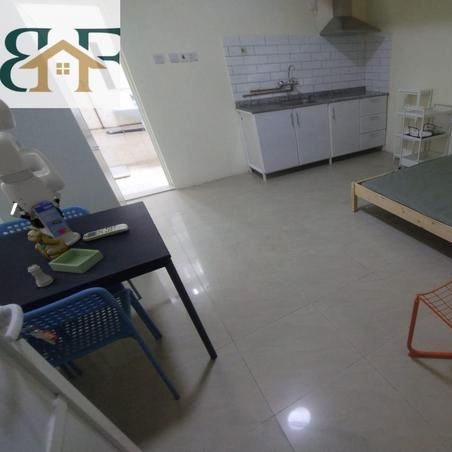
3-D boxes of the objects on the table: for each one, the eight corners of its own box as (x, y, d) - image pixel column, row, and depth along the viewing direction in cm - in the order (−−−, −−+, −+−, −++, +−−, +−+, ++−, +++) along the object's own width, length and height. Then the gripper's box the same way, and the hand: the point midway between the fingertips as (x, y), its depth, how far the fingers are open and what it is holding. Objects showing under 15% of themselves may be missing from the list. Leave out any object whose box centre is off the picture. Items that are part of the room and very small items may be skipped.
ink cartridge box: (73, 230, 103) (47, 195, 94) (56, 238, 99) (27, 203, 90) (59, 224, 106) (33, 191, 98) (42, 232, 102) (14, 198, 94)
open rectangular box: (53, 270, 108) (48, 263, 106) (76, 255, 116) (71, 248, 114) (82, 273, 106) (77, 266, 104) (104, 257, 114) (99, 250, 112)
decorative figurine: (39, 259, 115) (15, 229, 107) (61, 247, 121) (39, 218, 113) (56, 262, 112) (31, 232, 104) (76, 250, 119) (55, 220, 110)
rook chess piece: (35, 286, 101) (20, 269, 97) (49, 277, 105) (36, 261, 100) (42, 288, 100) (28, 272, 95) (56, 280, 103) (43, 264, 99)
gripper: (35, 166, 98) (65, 210, 108) (-25, 187, 84) (16, 235, 94) (53, 166, 97) (81, 211, 107) (-5, 188, 83) (33, 237, 93)
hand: (50, 222), depth 100 cm, fingers closed on ink cartridge box, 6 cm apart
